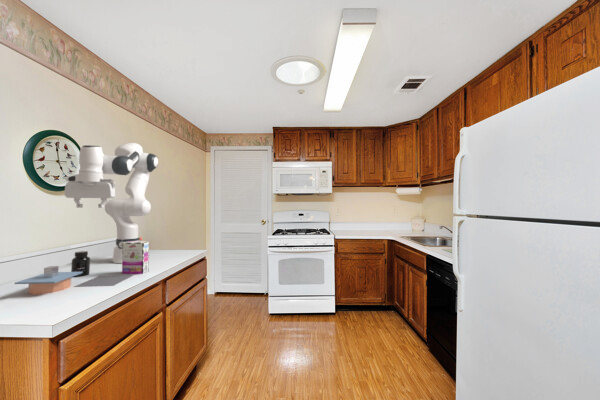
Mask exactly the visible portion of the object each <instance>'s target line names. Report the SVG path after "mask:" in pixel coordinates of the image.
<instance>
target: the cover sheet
mask: <svg viewBox="0 0 600 400" xmlns="http://www.w3.org/2000/svg"><path fill="white" fill-rule="evenodd" d="M81 273H83V272H71V271H59V265H52V266H47V267H43V273H41V274H37V275H35V276H34V275H33V276H32V277H28V278H26V279H22V280H19V281H15V282H14V285H29V284H41V283H56V282H59V281H62V280H65V279H67V278H70V277H71V278H74V277H73V276H76V275H78V274H81Z"/></svg>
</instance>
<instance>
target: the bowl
mask: <svg viewBox="0 0 600 400" xmlns="http://www.w3.org/2000/svg"><path fill="white" fill-rule="evenodd" d="M71 286H72V277H70V278H67V279H65V280H62V281H59V282H56V283H41V284H28V290H27V291H28V294H29V295H32V296H35V295H46V294H52V293H56V292H57V293H58V292H61V291H64V290H67V289H69V288H71Z"/></svg>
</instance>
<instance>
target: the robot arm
mask: <svg viewBox="0 0 600 400" xmlns="http://www.w3.org/2000/svg"><path fill="white" fill-rule="evenodd" d="M143 150H144V149H143V147H142V145H141V144H139V143H137V142H126V143H122V144H121V145H119V146H117V147H115V149H114V155H106V154H104V152H103V148H102V146H99V145H82V146H81V147H80V150H79V155H78V157H79V158H78V165H79V169H78V173H77V174H74V175H70V176H66V178H65V180H66V184H65V185H64V197H66V198H67V199H69V198H70V199H71V198H72V199H73V201H74V202H75V204H76V208H79V209H80V208H84V207H83V206H84V205H83V203H81V199H100V201H101V202H100V203H98V204H97V206H98V208H99V209H101V208H103V209H104V211H105V213H106V214H107V215H109V216H110V217H111V218H112V220H113V221H114V224H115V225H116V226H115V227H116V239H115V245H116V246H115V247H114V249H113V255H112V259H110V262H112V263H114V264H122V252H123V242H128V241H142V239H143V237H139V233H140V232H139V225H138V223H136V222H134V221H132V219H131V217H143V216H147V215H149V214H150V212H151V211H152V210H151V209H152V204H151V203H150V201H149V200H147V199H146V196H145V195H146V194H145V193H146V191H147V188H148V185H149V181H150V173H152V172H153V171H154V170H155V169H157V168H158V164H159V157H158V156H157V155H156V154H154V153H148V152H144V151H143ZM133 169H134V170H133ZM132 170H133V171H132ZM131 172H132V173H131ZM129 174H131V175H130V176H129V178H128V181H127V182H126V186H125V187H124V191H125V193H126V194H127V195H128V196H129V198H115V197H116V189H115V185H116V183H115V181H114V180H113V179H112V178H107V179H106V178H104V175H115V176H116V175H117V176H128V175H129ZM107 200H108V201H107ZM149 257H150V254H149Z"/></svg>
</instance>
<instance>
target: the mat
mask: <svg viewBox="0 0 600 400" xmlns="http://www.w3.org/2000/svg"><path fill="white" fill-rule="evenodd" d="M134 276H135V274H122V275H121V274H118V275H115V274H114V275H98V276H96V277H94V278H91V279H89V280H87V281H84V282H82V283H81V282H80V283H79V284H76V285H74V286H73V288H82V287H83V288H85V287H88V288H89V287H114V286H116V285H117V284H120V283H122V282H123V281H125V280H127V279H130V278H131V277H134Z"/></svg>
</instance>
